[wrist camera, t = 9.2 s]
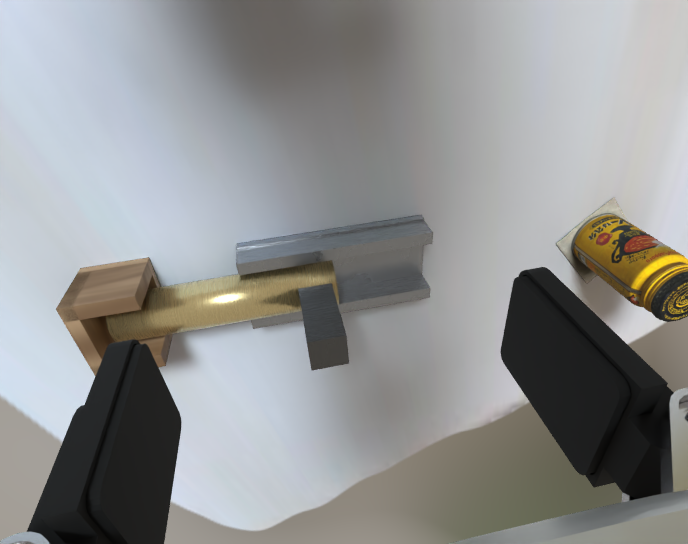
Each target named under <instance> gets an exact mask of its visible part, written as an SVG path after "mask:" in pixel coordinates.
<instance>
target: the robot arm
mask: <svg viewBox="0 0 688 544" xmlns="http://www.w3.org/2000/svg"><path fill="white" fill-rule="evenodd" d="M501 357H502V360H503V362H504V364H505V366H506V367H507V369H508V370H509V372H510V373H511V375H512V376H513V378H514V379H515V381H516V382H517V383H518V385H519V386H520V388H521V389H522V391H523V392H524V394H525V395H526V397H527V398H528V400H529V401H530V403H531V404H532V406H533V407H534V409H535V410H536V412H537V413H538V415H539V416H540V418H541V419H542V421H543V422H544V424H545V425H546V427H547V428H548V430H549V431H550V433H551V434H552V436H553V437H554V439H555V440H556V442H557V443H558V444H559V446H560V448H561V449H562V450H563V452H564V453H565V455H566V456H567V458H568V459H569V461H570V462H571V464H572V465H573V467H574V468H575V470H576V471H577V472H578V473H579V474H581V475H586V477H587V478H588V480H589V481H590V483H591V484H592V486H593V487H597V486H602V485H606V484H610V483H614V482H615V483H616V484H617V485H618V487H619V488H620V489H621V491H622V492H623V496H622V503H617V504H613V505H608V506H603V507H599V508H594V509H590V510H586V511H581V512H577V513H573V514H569V515H565V516H560V517H557V518H552V519H548V520H544V521H540V522H536V523H532V524H527V525H523V526H519V527H515V528H510V529H506V530H502V531H498V532H494V533H490V534H485V535H481V536H477V537H473V538H469V539H465V540H461V541H457V542H453V543H449V544H688V388H684V389H680V390H677V391H676V392H675V393H673V392H672V391H671V390H670V389H669V388H668V387H667V384H668V383H667V382H666V381H665V380H664V379H663V378H662V377H661V376H660V375H659V374H657V373H656V372H655V371H654V370H653V369H652V368H651V367H650V366H649V365H648V364H647V363H646V362H645V361H644V360H643V359H642V358H641V357H640V356H639V355H637V353H635V352H634V351H633V350H632V349H631V348H630V347H629V346H628V345H627V344H626V343H625V342H624V341H623V340H622V339H621V338H620V337H619V336H618V335H617V334H616V333H615V332H614V331H613V330H611V329H610V328H609V327H608V326H607V325H606V324H605V323H604V322H603V321H602V320H601V319H600V318H599V317H598V316H597V315H596V314H595V313H594V312H593V311H592V310H591V309H589V308H588V307H587V306H586V305H585V304H584V303H583V302H582V301H581V300H580V299H579V298H578V297H577V296H576V295H575V294H574V293H573V292H572V291H571V290H570V289H569V288H568V287H566V286H565V285H564V284H563V283H562V282H561V281H560V280H559V279H558V278H557V277H556V276H555V275H554V274H553V273H552V272H551V271H550V270H549V269H547V268H545V267H541V268H535V269H530V270H524V271H522V272H521V273H520V274H519V277H517V278H515V279H514V282H513V288H512V293H511V298H510V303H509V309H508V314H507V319H506V325H505V330H504V335H503V341H502V346H501ZM180 433H181V417H180V413H179V411H178V409H177V407H176V405H175V402H174V400H173V398H172V396H171V394H170V392H169V390H168V387H167V385H166V383H165V381H164V379H163V377H162V375H161V372H160V370H159V368H158V366H157V364H156V362H155V360H154V357H153V355H152V353H151V351H150V349H149V347H148V345H147V344H140V343H139V341H138V340H136V339H132V340H127V341H121V342H115V343H110V344H109V345H108V347H107V348H106V351H105V353H104V356H103V359H102V361H101V364H100V366H99V369H98V372H97V374H96V377H95V379H94V382H93V385H92V387H91V390H90V392H89V395H88V398H87V400H86V403H85V405H83V406H80V407H79V408H78V409H77V410H76V412H75V414H74V416H73V418H72V421H71V423H70V426H69V428H68V431H67V433H66V436H65V438H64V441H63V443H62V446H61V448H60V450H59V453H58V455H57V458H56V461H55V463H54V466H53V468H52V471H51V473H50V475H49V478H48V480H47V483H46V485H45V488H44V490H43V493H42V495H41V498H40V500H39V503H38V505H37V508H36V511H35V513H34V515H33V518H32V520H31V523H30V525H29V528H28V530H27V532H23V533H17V534H15V535H12V536H10V537H7V538H5V539H3V540H1V541H0V544H164V540H165V533H166V527H167V520H168V513H169V507H170V506H169V505H170V500H171V493H172V486H173V480H174V473H175V466H176V460H177V453H178V446H179V440H180Z"/></svg>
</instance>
